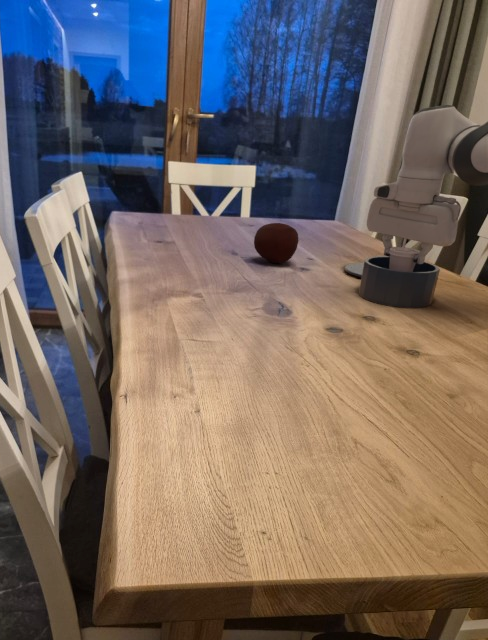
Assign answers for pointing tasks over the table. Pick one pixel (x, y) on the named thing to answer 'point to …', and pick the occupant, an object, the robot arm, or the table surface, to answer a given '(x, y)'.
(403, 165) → the robot arm
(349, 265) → the lid
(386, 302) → the pot
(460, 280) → the table surface
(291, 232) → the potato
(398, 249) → the smoothie
